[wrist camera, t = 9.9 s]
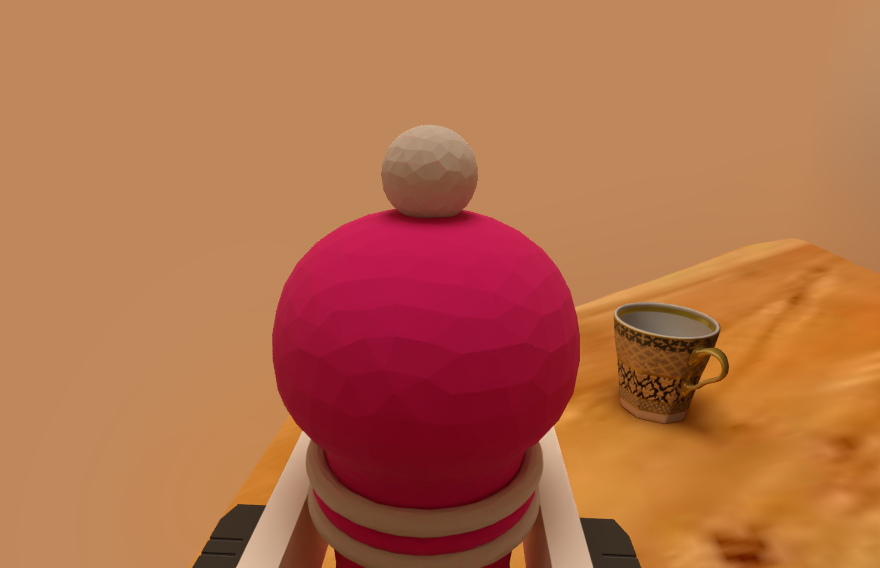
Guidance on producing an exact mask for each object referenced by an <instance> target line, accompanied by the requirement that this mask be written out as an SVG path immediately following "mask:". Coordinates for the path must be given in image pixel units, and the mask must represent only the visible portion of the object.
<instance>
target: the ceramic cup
mask: <svg viewBox="0 0 880 568" xmlns="http://www.w3.org/2000/svg"><path fill="white" fill-rule="evenodd" d="M614 332H615V344H616V351H617V357H618V375H619V394H620V403H621V406H622V407H624V408H625V409H626V410H628V411H629V412H630V413H632V414H633V415H634V416H636V417H637V418H640V419H645V420H650V421H654V422H659V423H663V424H667V423H671V422H676V421H680V420H683V419H684V418H685V417H686V414H687V411H688V408H689V406H690V403H691V400H692V397H693V395H694V392H695V390H696V389H699V388H701V387H703V386H704V385H706V384H710V383H714V382H718V381H721V380H722V379H724V378H725V377H726V375H727V374H728V370H729V364H728V359H727V357H726V355H725V354H724V353H723V352H722V351H721V350H719V349H717V348H714V347H715V344H716V342H717V339H718V336H719V333H720V325H719V323H718V322H717V321H716V320H715V319H713V318H712V317H710V316H708V315H706V314H704V313H702V312H699V311H696V310H693V309H690V308H687V307H682V306H678V305H672V304H666V303H654V302H640V303H630V304H626V305H623V306H621V307H619V308H617V309H616V310H615V312H614ZM711 355H712V356H714V357H716V358H717V359H718V360H719V361H720V363H721V366H722V372H721V374H720V375H719V376H718V377H715V378H712V379H708V380H704V381H702V382H700V383H698V382H699V380H700V377H701V375H702V373H703V371H704V369H705V367H706V365H707V363H708V360H709V358H710V356H711Z"/></svg>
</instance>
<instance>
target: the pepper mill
mask: <svg viewBox="0 0 880 568" xmlns="http://www.w3.org/2000/svg"><path fill="white" fill-rule="evenodd" d="M381 176H382V182H383V188H384V192H385V194H386V196H387V198H388V200H389V201H390V202H391V204H392V205H393V206H394V207H395V208H396V209H392V210H387V211H383V212H378V213H374V214H370V215H367V216H364V217H362V218H359V219H357V220H354V221H352V222H349V223H347V224H344V225H342V226H341V227H339V228H337V229H336V230H334V231H333V232H331V233H330V234H328V235H327V236H325V237H324V238H323V239H321V240H320V241H318V242H317V243H316V244H315V245H314V246H313V247H312V248H311V249H310V250H309V251H308V252H307V253H306V254H305V255H304V257H303V258H302V259H301V260H300V261H299V262H298V263H297V265H296V266H295V268H294V270H293V272H292V273H291V275H290V276H289V278H288V280H287V281H286V283H285V285H284V287H283V291H282V294H281V297H280V300H279V303H278V307H277V310H276V316H275V322H274V328H273V334H272V345H273V363H274V369H275V375H276V381H277V387H278V391H279V394H280V396H281V398H282V401H283V402H284V405H285V407H286V408H287V410H288V412H289V413H290V415H291V416H292V418H293V419H294V421H295V422H296V424H297V425H298V426H299V427H300V428H301V429H302V430H303V431H304V432H305V433H306V435H307V436H308V437H309V438H310V439H311V440H310V443H309V445H308V449H307V453H306V472H307V475H308V478H309V480H310V485H309V489H308V507H309V513H310V516H311V518H312V521H313V524H314V526H315V528H316V529H317V531H318V532H319V534H320V535H321V537H322V538H323V539H324V540H325V541H326V542H327V543H328V544H329V545H330V546H331V547H332V548H334V551H335V558H336V568H510V558H511V553H512V550H513V549H514V548H516V547H517V546H518V545H519V544H520V543H521V542H522V541H523V540H524V538H525V537H526V536H527V535H528V533H529V532H530V530H531V529H532V527H533V525H534V523H535V521H536V518H537V515H538V512H539V506H540V492H539V485H538V484H539V481H540V479H541V476H542V473H543V453H542V448H541V445H540V443H539V441H540V440H541V439H542V438H543V437H544V436H545V434H546V433H547V432H548V431H549V430H550V429H551V428H552V427H553V426H554V425H555V424H556V423H557V421H558V420H559V419H560V417H561V415H562V413H563V412H564V410H565V408H566V406H567V404H568V402H569V400H570V398H571V397H572V395H573V392H574V387H575V382H576V377H577V372H578V367H579V362H580V334H579V327H578V320H577V315H576V311H575V307H574V303H573V300H572V296H571V292H570V290H569V288H568V286H567V285H566V282H565V280H564V278H563V276H562V274H561V272H560V271H559V269H558V268H557V266H556V265H555V264H554V262H553V261H552V260H551V259H550V258H549V256H548V255H547V254H546V253H545V252H544V251H543V249H542V248H540V247H539V246H538V245H536V244H535V243H534V242H533V241H531V240H530V239H529V238H527V237H526V236H525V235H524V234H522V233H521V232H520V231H518V230H516V229H514V228H512V227H510V226H508V225H506V224H504V223H502V222H500V221H497V220H495V219H493V218H491V217H487V216H484V215H481V214H477V213H474V212H471V211H465V210H463V208H465V207H466V206H467V204H468V203H469V201H470V200H471V198H472V196H473V194H474V191H475V189H476V185H477V180H478V173H477V164H476V160H475V156H474V153H473V152H472V150H471V148H470V146H469V145H468V144H467V143H466V142H465V141H464V140H463V138H462V137H460V136H459V135H458V134H457V133H455V132H454V131H452V130H450V129H447V128H445V127H442V126H437V125H423V126H418V127H415V128H412V129H410V130H408V131H406V132H404V133H403V134H401V135H400V136H399V137H397V138H396V139H395V140H394V142H393V143H392V144H391V146H390V147H389V148H388V149H387V152H386V155H385V158H384V160H383V165H382V172H381Z"/></svg>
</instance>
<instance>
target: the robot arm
mask: <svg viewBox="0 0 880 568" xmlns="http://www.w3.org/2000/svg"><path fill="white" fill-rule="evenodd" d="M310 440H311V439H310V438H309V437H308V436H307V435H306V433H305V432H304V431H302V433H301V436H300V438H299V440H298V442H297V444H296V446H295V448H294V450H293V452H292V454H291V456H290V458H289V460H288V462H287V464H286V466H285V468H284V470H283V473H282V475H281V477H280V479H279V481H278V483H277V485H276V487H275V489H274V491H273V493H272V495H271V497H270V499H269V501H268V503H267V505H244V504H238V505H237V506H236V507H234V508H233V509H232V510H231V511H230V512H228V513H227V514H226V515H225V516H224V517H223V518H221V519H220V521H219V523H218V524H217V526H216V528H215V530H214V531H213V533H212V535H211V536H210V540H209V541H208V542H207V543H206V545H205V547H204V548H203V550H202V553H201V556H199V557H198V559H197V561H196V562H195V564H194V566H193V567H192V568H321V567H322V564H323V560H324V557H325V554H326V550H327V547H328V543H327V542H326V541H325V540H324V539H323V538H322V537H321V535H320V534H319V532H318V531H317V529H316V528H315V526H314V524H313V521H312V518H311V516H310V513H309V507H308V489H309V485H310V480H309V478H308V475H307V472H306V453H307V449H308V445H309V443H310ZM539 443H540V445H541V448H542V453H543V473H542V476H541V479H540V481H539V484H538V485H539V492H540V506H539V512H538V515H537V518H536V521H535V523H534V525H533V527H532V529H531V530H530V532H529V533H528V535H527V536H526V537H525V538H524V540H523V547H524V554H525V562H526V568H641V566H640V564H639V561H638V559H637V558H636V553H635V550H634V548H633V545H632V543H631V540H630V537H629V536H628V534H627V533H626V532H625V531H624V530H623V529H622V528H621V527H620V526H619V525H618V524H617V522H616V521H615V520H614V519H595V518H579V515H578V511H577V508H576V504H575V501H574V497H573V493H572V490H571V486H570V483H569V479H568V475H567V472H566V468H565V465H564V461H563V457H562V454H561V450H560V447H559V443H558V439H557V436H556V432H555V429H554V426H553V427H552V428H551V429H550V430H549V431H548V432H547V433H546V434H545V436H544V437H543V438H542V439H541V440H540V441H539Z"/></svg>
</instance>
